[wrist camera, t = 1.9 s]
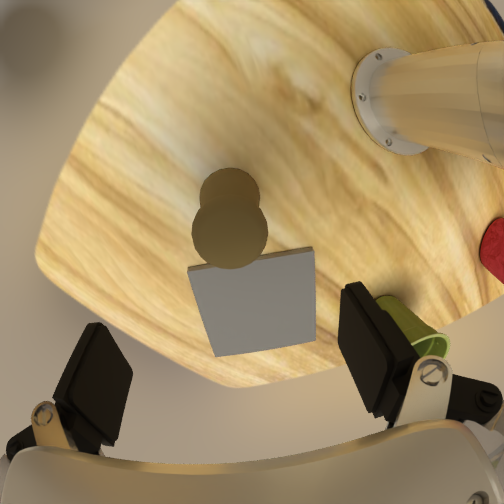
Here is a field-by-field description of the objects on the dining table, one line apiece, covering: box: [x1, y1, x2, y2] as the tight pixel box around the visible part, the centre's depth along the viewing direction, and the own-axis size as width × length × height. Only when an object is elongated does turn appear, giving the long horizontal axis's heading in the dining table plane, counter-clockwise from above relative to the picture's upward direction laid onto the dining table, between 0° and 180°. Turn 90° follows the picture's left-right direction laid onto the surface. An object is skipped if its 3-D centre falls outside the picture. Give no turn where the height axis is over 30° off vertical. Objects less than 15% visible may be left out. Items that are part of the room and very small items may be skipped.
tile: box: [187, 247, 316, 357], centre depth 33 cm, size 14×14×1 cm
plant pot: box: [376, 296, 450, 359], centre depth 31 cm, size 12×12×11 cm
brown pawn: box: [192, 168, 268, 270], centre depth 22 cm, size 6×6×11 cm
